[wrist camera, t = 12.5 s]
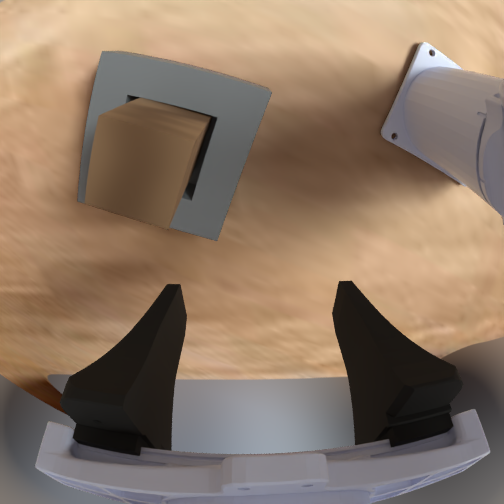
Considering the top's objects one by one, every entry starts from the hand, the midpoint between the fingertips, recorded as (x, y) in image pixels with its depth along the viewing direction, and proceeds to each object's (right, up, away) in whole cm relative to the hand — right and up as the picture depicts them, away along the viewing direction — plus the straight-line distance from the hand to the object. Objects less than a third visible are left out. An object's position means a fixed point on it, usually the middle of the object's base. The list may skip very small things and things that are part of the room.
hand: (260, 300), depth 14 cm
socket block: (-6, +10, +5) cm, 12 cm away
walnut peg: (-5, +10, +5) cm, 12 cm away
